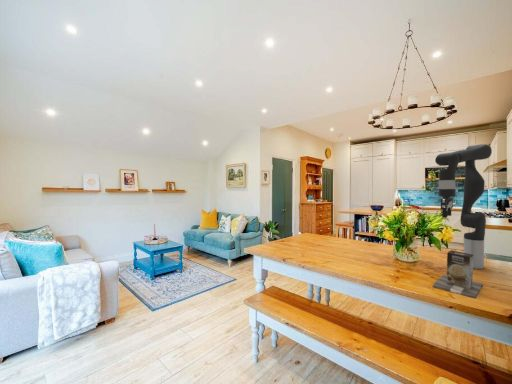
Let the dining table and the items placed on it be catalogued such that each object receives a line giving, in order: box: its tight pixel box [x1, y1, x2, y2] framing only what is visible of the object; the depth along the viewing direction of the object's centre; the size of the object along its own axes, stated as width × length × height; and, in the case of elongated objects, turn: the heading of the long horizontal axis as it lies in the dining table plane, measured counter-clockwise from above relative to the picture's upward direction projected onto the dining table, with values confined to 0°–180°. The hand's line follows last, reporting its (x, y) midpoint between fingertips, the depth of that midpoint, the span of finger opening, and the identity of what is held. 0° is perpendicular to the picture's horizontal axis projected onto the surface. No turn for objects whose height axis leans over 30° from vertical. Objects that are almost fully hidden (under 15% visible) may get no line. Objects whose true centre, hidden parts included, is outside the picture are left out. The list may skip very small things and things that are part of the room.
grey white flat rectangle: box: [432, 274, 484, 299], centre depth 119 cm, size 20×16×1 cm
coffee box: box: [446, 249, 474, 289], centre depth 118 cm, size 9×6×16 cm
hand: (446, 216), depth 134 cm, fingers open, 8 cm apart
